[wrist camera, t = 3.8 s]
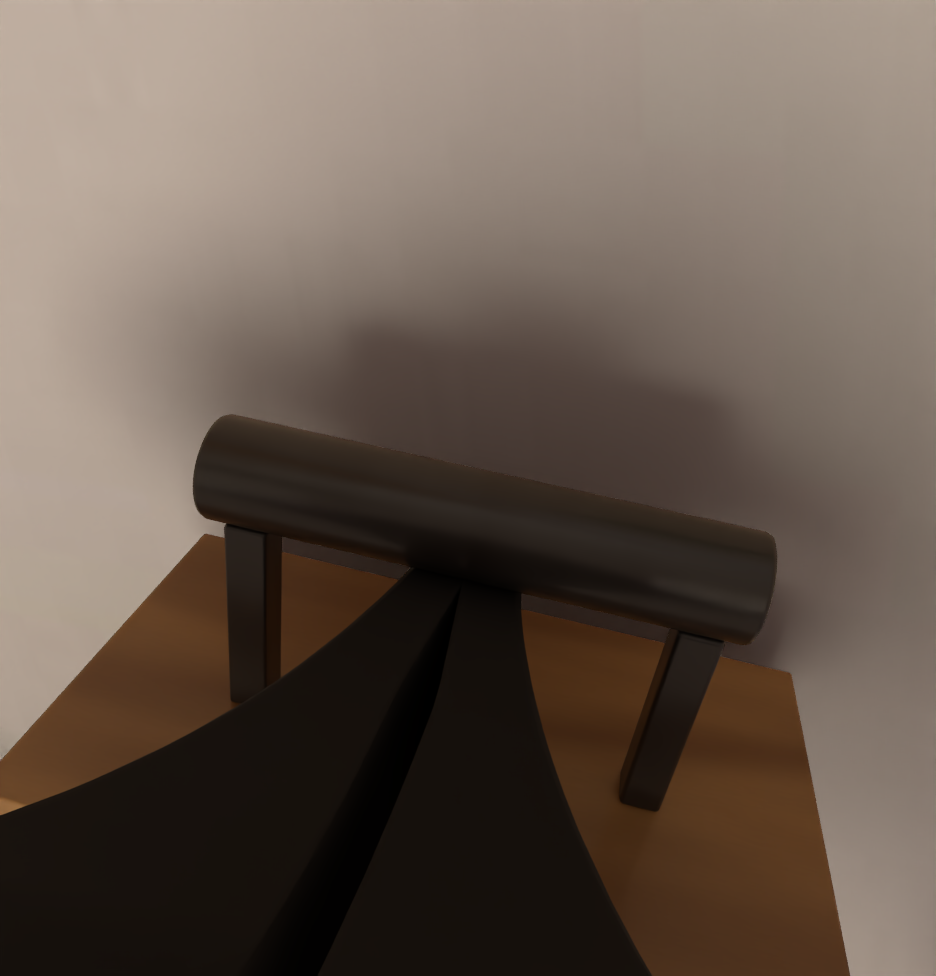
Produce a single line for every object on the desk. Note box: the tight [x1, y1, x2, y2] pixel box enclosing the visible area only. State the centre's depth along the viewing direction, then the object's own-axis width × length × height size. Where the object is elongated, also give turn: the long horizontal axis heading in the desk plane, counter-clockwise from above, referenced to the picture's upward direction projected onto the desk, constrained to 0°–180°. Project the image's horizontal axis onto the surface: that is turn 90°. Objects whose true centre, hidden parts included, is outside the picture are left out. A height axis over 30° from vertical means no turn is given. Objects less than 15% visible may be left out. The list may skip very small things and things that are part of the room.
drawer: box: [0, 414, 850, 976], centre depth 15 cm, size 18×11×6 cm, turn 172°
